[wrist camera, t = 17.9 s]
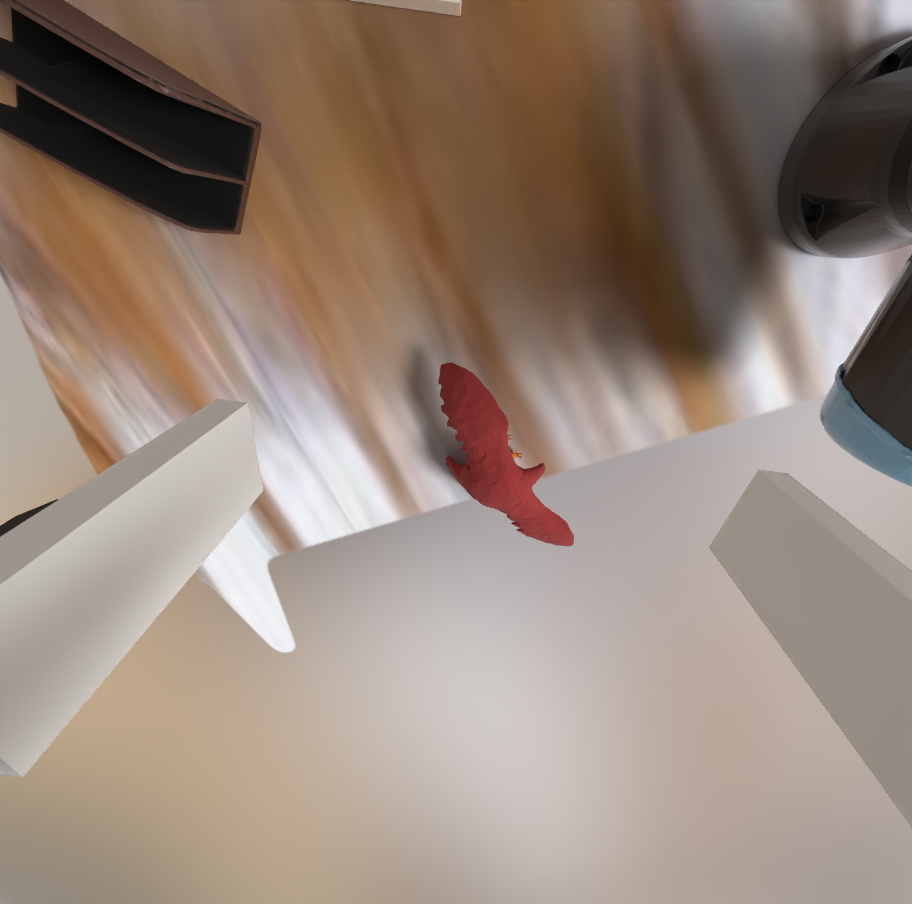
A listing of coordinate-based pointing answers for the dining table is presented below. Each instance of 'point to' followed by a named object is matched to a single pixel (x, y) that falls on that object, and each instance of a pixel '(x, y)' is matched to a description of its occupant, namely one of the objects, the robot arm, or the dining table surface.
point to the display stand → (423, 5)
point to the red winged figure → (494, 458)
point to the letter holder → (125, 118)
